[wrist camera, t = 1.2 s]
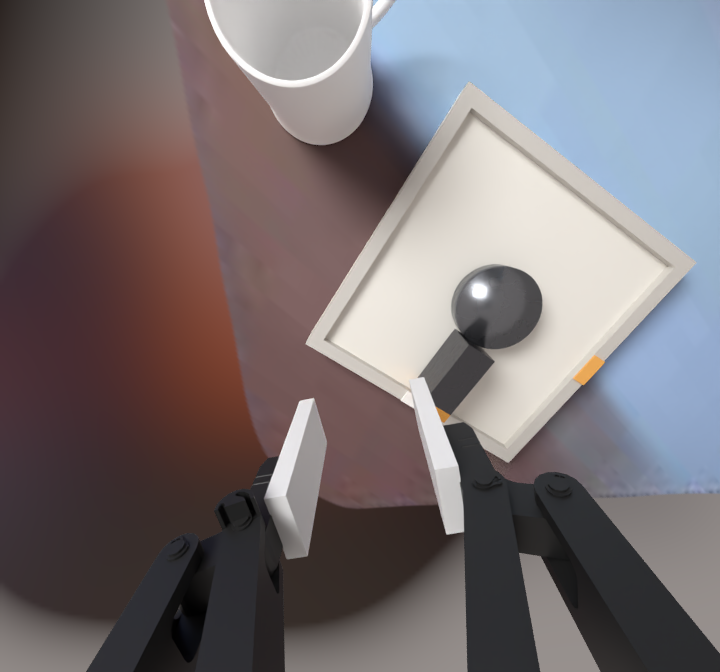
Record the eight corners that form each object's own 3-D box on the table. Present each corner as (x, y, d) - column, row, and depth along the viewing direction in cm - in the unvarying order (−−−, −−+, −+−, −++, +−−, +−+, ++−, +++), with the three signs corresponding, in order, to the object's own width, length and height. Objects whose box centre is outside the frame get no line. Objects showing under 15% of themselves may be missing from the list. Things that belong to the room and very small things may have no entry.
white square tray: (458, 95, 27) (469, 80, 24) (668, 259, 31) (698, 262, 28) (310, 334, 34) (305, 344, 31) (498, 445, 38) (509, 464, 35)
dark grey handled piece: (484, 247, 29) (505, 251, 24) (548, 292, 30) (578, 303, 25) (393, 373, 32) (397, 395, 28) (452, 408, 33) (464, 435, 29)
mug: (379, -33, 25) (391, -249, 13) (427, 89, 27) (472, -9, 16) (245, 59, 27) (157, -64, 15) (301, 165, 29) (260, 127, 18)
